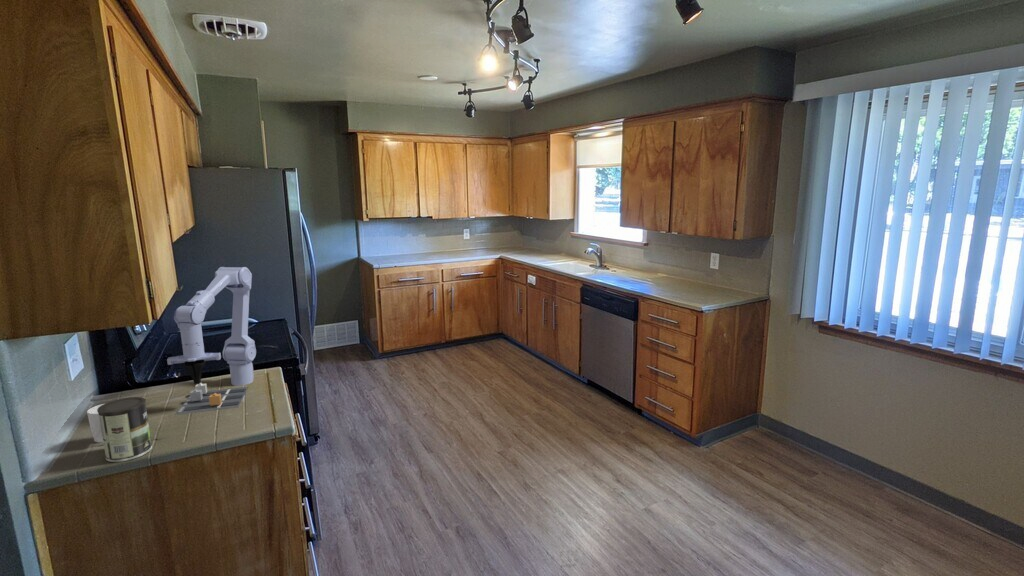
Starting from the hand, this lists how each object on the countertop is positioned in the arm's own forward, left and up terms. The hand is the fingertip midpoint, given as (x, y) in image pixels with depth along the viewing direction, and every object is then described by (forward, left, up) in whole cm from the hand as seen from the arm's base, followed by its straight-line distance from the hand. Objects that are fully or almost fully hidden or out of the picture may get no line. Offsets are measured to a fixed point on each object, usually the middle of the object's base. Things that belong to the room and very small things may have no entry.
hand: (197, 382), depth 162 cm
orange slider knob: (+1, +5, -8) cm, 10 cm away
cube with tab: (-11, -2, -8) cm, 14 cm away
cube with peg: (-5, -2, -8) cm, 10 cm away
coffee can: (+26, -11, -10) cm, 29 cm away
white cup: (+16, -19, -10) cm, 26 cm away
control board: (-5, +3, -9) cm, 11 cm away
